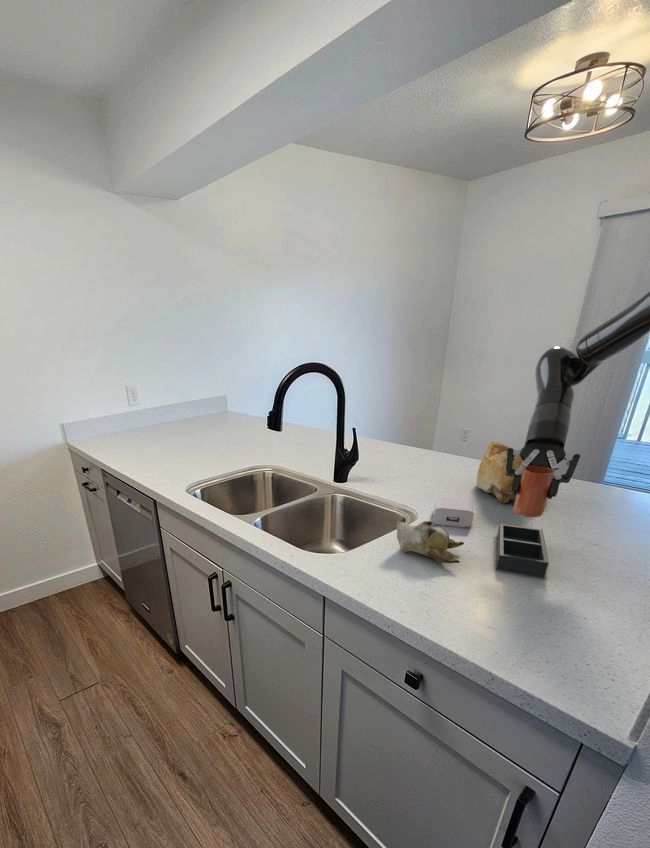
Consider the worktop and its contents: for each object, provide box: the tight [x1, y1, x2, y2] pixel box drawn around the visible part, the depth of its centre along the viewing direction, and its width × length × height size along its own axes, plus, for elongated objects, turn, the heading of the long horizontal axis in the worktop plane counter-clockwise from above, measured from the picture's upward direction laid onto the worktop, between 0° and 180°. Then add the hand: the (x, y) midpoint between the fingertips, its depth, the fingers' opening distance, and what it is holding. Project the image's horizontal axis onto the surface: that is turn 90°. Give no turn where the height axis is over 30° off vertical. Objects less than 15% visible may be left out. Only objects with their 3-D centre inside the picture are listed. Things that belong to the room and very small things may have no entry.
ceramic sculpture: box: [396, 520, 465, 564], centre depth 100 cm, size 11×9×15 cm
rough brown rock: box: [476, 441, 524, 504], centre depth 127 cm, size 23×17×15 cm
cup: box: [512, 466, 555, 518], centre depth 96 cm, size 6×6×10 cm
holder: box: [495, 523, 550, 579], centre depth 99 cm, size 9×17×4 cm, turn 152°
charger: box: [432, 495, 475, 528], centre depth 120 cm, size 5×9×15 cm
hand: (532, 494), depth 95 cm, fingers closed on cup, 6 cm apart
